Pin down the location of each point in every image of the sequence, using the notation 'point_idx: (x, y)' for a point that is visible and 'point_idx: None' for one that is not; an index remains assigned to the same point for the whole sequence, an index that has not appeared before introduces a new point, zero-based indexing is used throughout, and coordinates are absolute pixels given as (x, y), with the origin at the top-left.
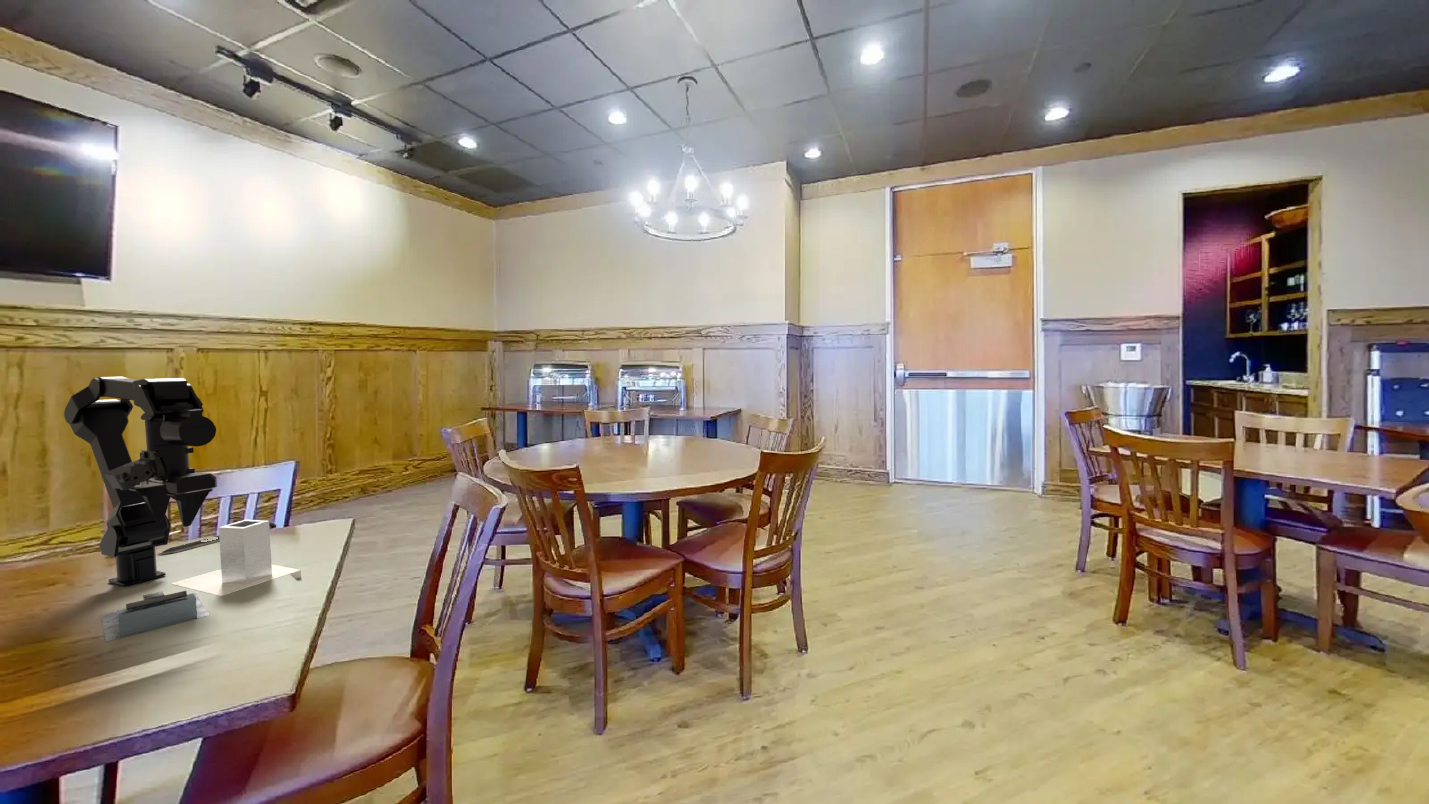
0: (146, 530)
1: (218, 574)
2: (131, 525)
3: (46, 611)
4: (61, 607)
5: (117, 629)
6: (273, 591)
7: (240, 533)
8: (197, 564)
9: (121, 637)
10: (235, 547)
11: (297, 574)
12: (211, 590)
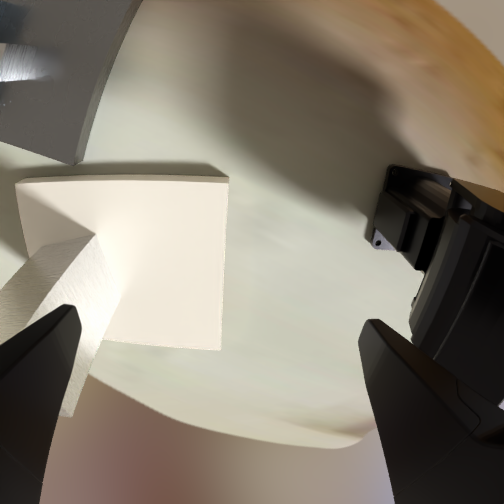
0: (440, 287)
1: (178, 269)
2: (483, 264)
3: (387, 12)
4: (385, 33)
5: (20, 1)
6: (20, 258)
7: None
8: (371, 310)
9: None
10: (7, 299)
11: None
12: (62, 193)
